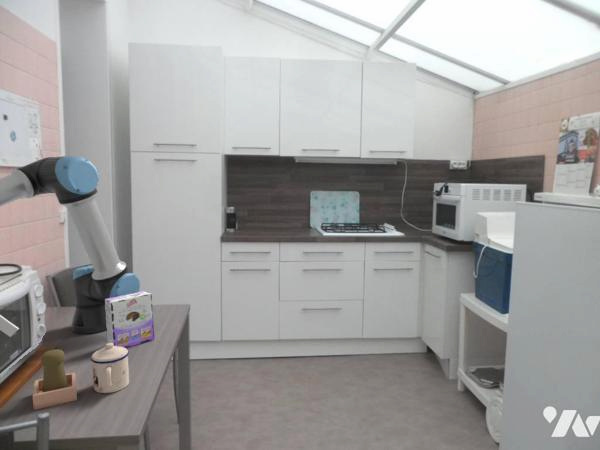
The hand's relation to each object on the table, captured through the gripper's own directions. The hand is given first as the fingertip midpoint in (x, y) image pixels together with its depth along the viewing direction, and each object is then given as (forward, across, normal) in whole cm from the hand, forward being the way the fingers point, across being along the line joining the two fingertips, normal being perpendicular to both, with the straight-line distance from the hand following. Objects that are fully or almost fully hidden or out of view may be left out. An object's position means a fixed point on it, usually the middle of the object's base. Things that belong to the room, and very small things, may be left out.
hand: (3, 342), depth 105 cm
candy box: (+28, -32, +6) cm, 43 cm away
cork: (+18, 0, -3) cm, 18 cm away
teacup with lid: (+28, -1, +6) cm, 28 cm away
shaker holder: (+18, 0, -3) cm, 19 cm away
